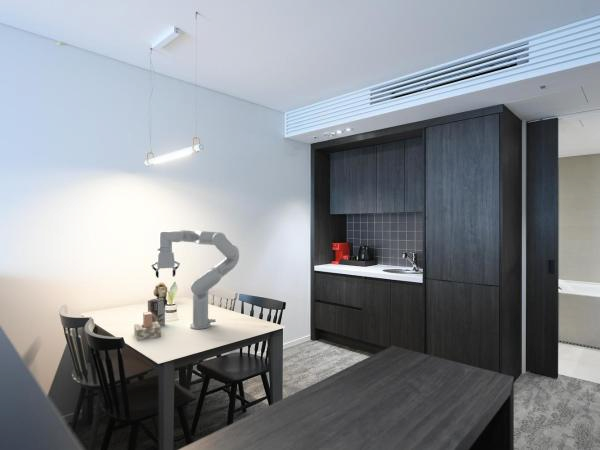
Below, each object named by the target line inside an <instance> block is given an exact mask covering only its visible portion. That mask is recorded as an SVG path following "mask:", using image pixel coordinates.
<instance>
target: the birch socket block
mask: <svg viewBox="0 0 600 450" xmlns="http://www.w3.org/2000/svg"><path fill="white" fill-rule="evenodd" d="M161 327H162V325H161V326H160V325H159V323H158V322H152V327H148V328H143V322H142V323H135V324H134V326H133V328H134V330H133V331H134V332H133V333H134V336H135V339H136V341H137V340H139V341H140V340H147V339H151V338H158V337H159V338H160V337H162V328H161Z"/></svg>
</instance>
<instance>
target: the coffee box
mask: <svg viewBox="0 0 600 450" xmlns="http://www.w3.org/2000/svg"><path fill="white" fill-rule="evenodd" d="M147 312H151V313H152V322H158V323H159V325H160V326H161V327H162V326H164V325H166V314H165V313H166V305H165V300H162V299H157V298H153V299H149V300H147Z"/></svg>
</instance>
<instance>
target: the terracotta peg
mask: <svg viewBox="0 0 600 450" xmlns="http://www.w3.org/2000/svg"><path fill="white" fill-rule="evenodd" d="M142 316H143V317H142V321H143V322H142V323H143V328H148V327H152V313H151V312H148V311H146V312H143V313H142Z"/></svg>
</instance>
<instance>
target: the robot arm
mask: <svg viewBox="0 0 600 450" xmlns="http://www.w3.org/2000/svg"><path fill="white" fill-rule="evenodd" d="M158 234H159V235H158V237H159V239H158V240H159V241H158V242H159V243H158V244H159V245H158V246H159V247H158V248H156V251H158V252H157V258H156V259H157V260H156V261H155V262H153V263H151V264H150V266H151V268H152V269H153V270H154V271H155V277H156V278H157V279H158V278H160V277H159V275H160V274H159V273H160V271H159V270H161V269H172V277H175V276H176V274H177V273H176V271H177V269H178V268H179V267H180V264H181V263H180V262H178V261H176V260H175V254H174V252H173V243H181V242H184V243H185V242H187V243H195V244H198V245H205V246H206V245H207V246H215V248H216V249H217V250H218V251H219V252H220V253H221V254H222V255H223V256H224V259H222V260H221V261H220V262H219V263H217V264H216V265H214V266H213V267H211V268H210V269H208V270H207V271H206V272H205V273H204V274H202V275H201V276H199V277H197V278H195V279H194V280H193V282H192V283H191V285H190V291H191V293H192V323H191V324H190V329H193V330H202V329H203V330H204V329H208V328H210V327H211V323H216V318H215V319H213V318H209V290H211V289H212V288H213V287H214V286H216V285H217V284H219V282H220V281H221V279H222V278H224V276H226V275H228V273H230V272H231V271H232V270H233V269H234V268H235V267H236V266H237V264H238V262H239V260H240V250H239V248H238V246H236V245H235V244H234V245H233V244H232V242H231V241H230V240H229V239H228V238H227V236H226V235H225V234H224V233H223V232H220V231H219V232H218V231H207V230H206V231H205V230H185V229H182V230H181V229H177V230H160V231H159V233H158ZM175 264H176V266H175ZM155 266H156V267H155Z"/></svg>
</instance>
